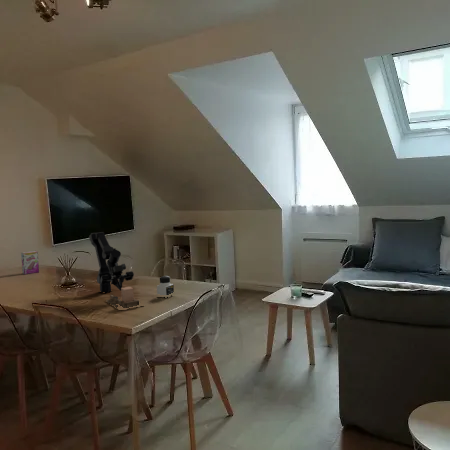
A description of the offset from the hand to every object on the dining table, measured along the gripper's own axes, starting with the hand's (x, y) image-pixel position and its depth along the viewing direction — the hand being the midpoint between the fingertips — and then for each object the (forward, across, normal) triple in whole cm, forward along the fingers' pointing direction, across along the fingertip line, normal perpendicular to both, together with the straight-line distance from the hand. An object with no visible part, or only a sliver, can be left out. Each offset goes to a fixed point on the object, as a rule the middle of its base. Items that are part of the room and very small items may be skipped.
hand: (121, 290), depth 259 cm
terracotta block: (+11, 0, -3) cm, 11 cm away
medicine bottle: (+9, +25, +2) cm, 26 cm away
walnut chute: (+8, 0, +2) cm, 8 cm away
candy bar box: (-82, -28, +95) cm, 128 cm away
